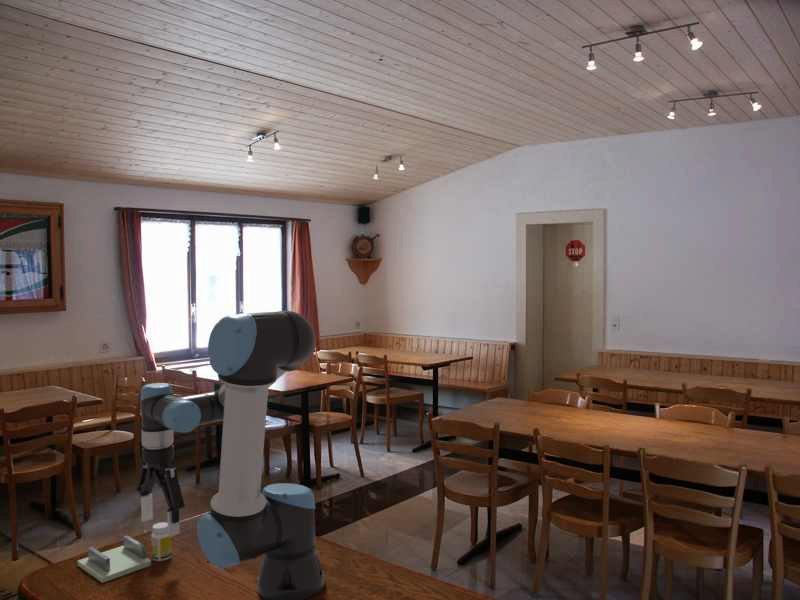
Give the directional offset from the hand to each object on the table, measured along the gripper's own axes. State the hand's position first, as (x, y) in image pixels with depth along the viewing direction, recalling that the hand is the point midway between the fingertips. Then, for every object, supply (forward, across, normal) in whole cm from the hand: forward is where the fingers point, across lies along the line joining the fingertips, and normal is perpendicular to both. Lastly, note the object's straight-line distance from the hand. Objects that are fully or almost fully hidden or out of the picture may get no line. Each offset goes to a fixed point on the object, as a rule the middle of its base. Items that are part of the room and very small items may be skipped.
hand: (160, 527), depth 168 cm
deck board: (+8, +4, +10) cm, 13 cm away
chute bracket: (+7, +5, +9) cm, 12 cm away
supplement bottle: (+8, -1, 0) cm, 8 cm away
